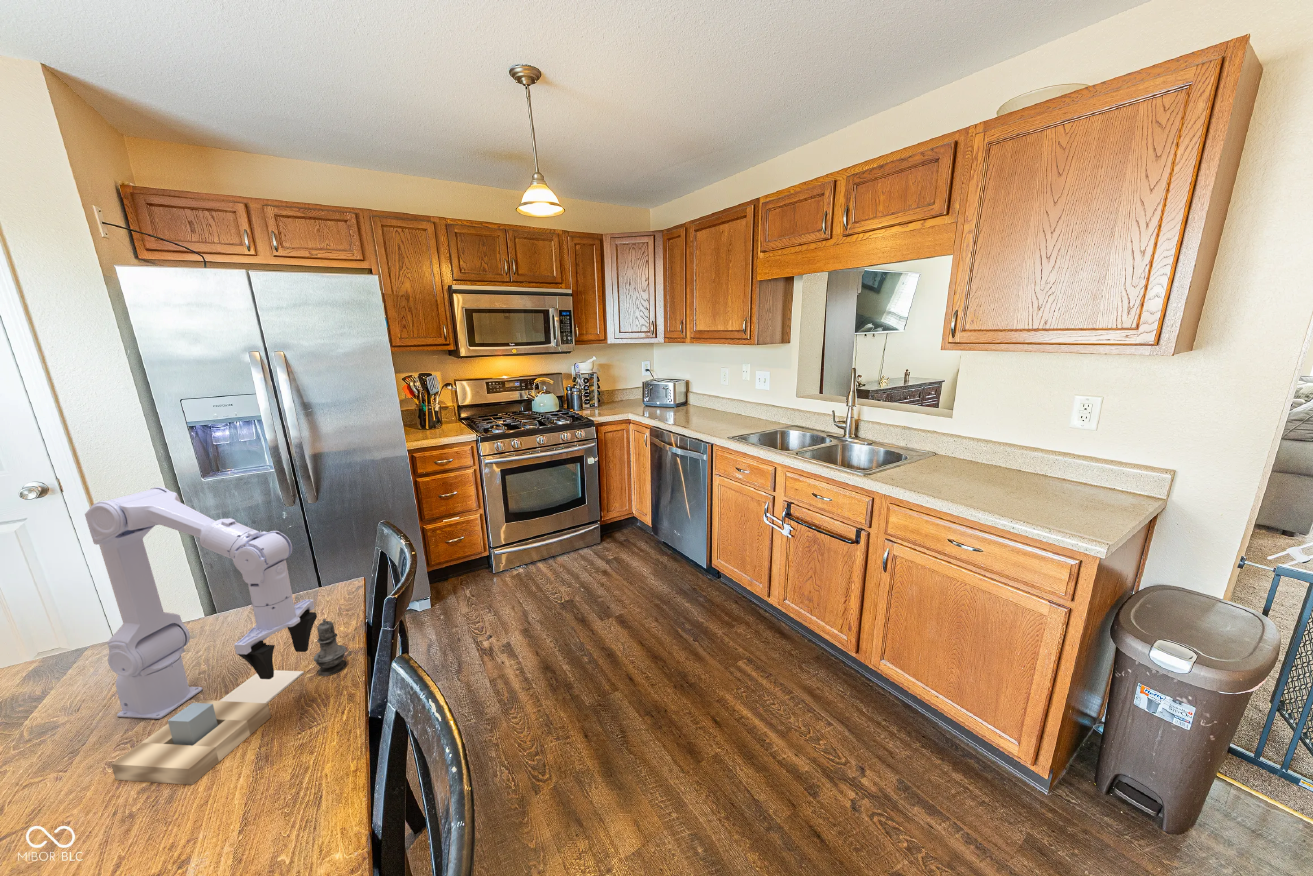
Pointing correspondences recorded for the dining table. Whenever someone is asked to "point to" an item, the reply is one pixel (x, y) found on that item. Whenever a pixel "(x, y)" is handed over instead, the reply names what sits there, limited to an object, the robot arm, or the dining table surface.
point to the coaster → (262, 687)
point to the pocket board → (191, 747)
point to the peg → (192, 723)
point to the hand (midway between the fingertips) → (285, 663)
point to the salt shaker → (329, 650)
